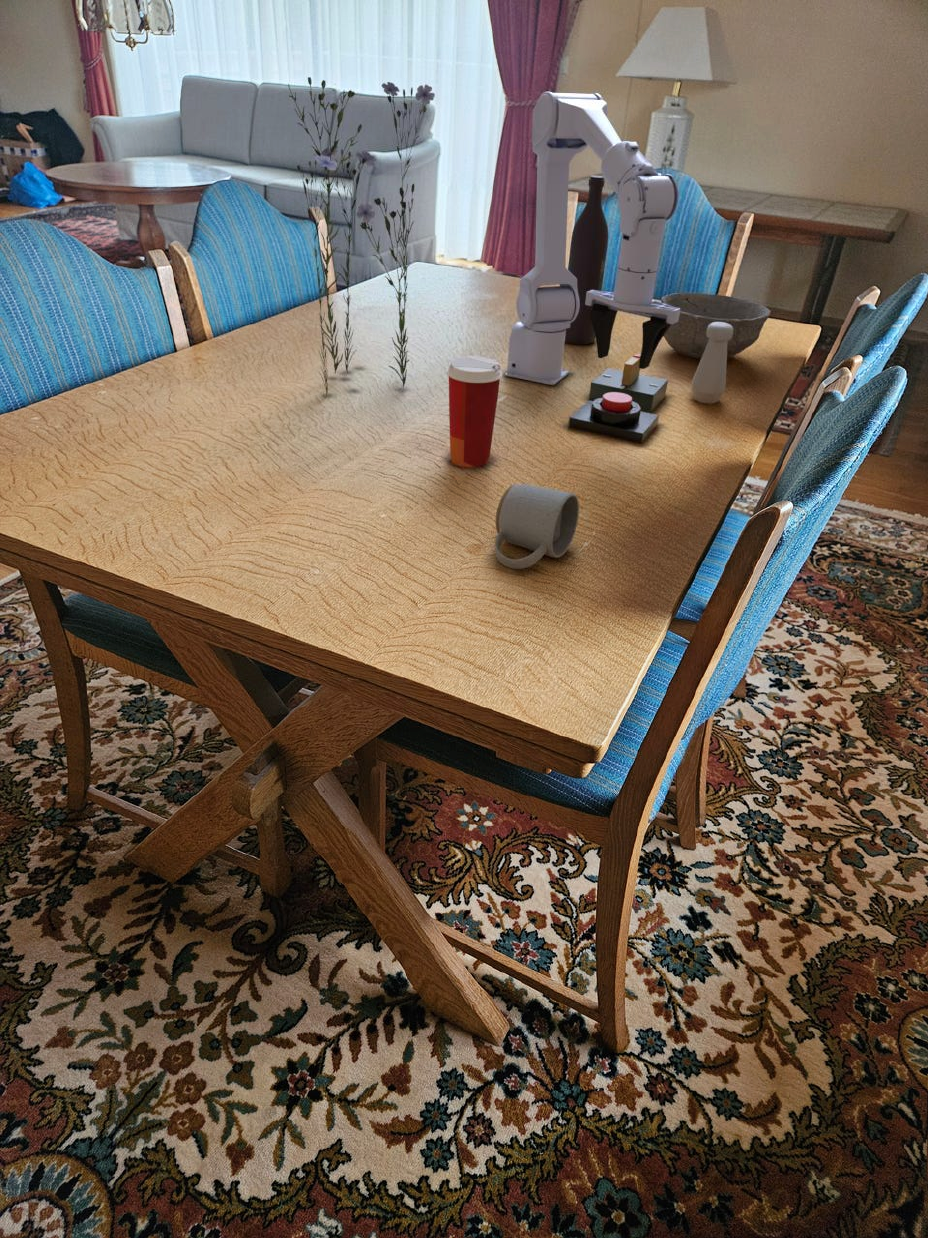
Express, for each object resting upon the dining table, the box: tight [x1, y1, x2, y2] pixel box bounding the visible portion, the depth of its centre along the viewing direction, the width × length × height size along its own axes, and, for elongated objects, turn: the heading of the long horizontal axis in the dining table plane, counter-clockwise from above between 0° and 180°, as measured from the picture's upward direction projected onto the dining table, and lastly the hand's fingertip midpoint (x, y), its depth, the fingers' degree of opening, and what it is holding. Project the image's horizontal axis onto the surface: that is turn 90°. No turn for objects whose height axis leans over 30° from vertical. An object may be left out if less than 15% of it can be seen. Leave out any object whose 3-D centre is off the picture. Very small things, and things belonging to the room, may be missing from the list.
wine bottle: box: [565, 175, 609, 346], centre depth 167 cm, size 7×7×30 cm
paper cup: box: [445, 355, 504, 468], centre depth 120 cm, size 8×8×14 cm
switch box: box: [568, 398, 660, 444], centre depth 137 cm, size 12×9×4 cm
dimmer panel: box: [588, 367, 669, 413], centre depth 148 cm, size 11×10×3 cm
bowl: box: [660, 292, 771, 360], centre depth 168 cm, size 21×21×10 cm
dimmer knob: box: [621, 353, 641, 386], centre depth 146 cm, size 6×1×4 cm, turn 153°
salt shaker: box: [690, 322, 733, 405], centre depth 146 cm, size 6×6×13 cm
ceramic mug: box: [493, 483, 580, 570], centre depth 101 cm, size 11×8×8 cm
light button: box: [602, 392, 632, 411], centre depth 135 cm, size 5×5×2 cm
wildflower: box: [287, 76, 436, 396], centre depth 136 cm, size 22×23×45 cm
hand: (623, 361), depth 132 cm, fingers open, 6 cm apart
